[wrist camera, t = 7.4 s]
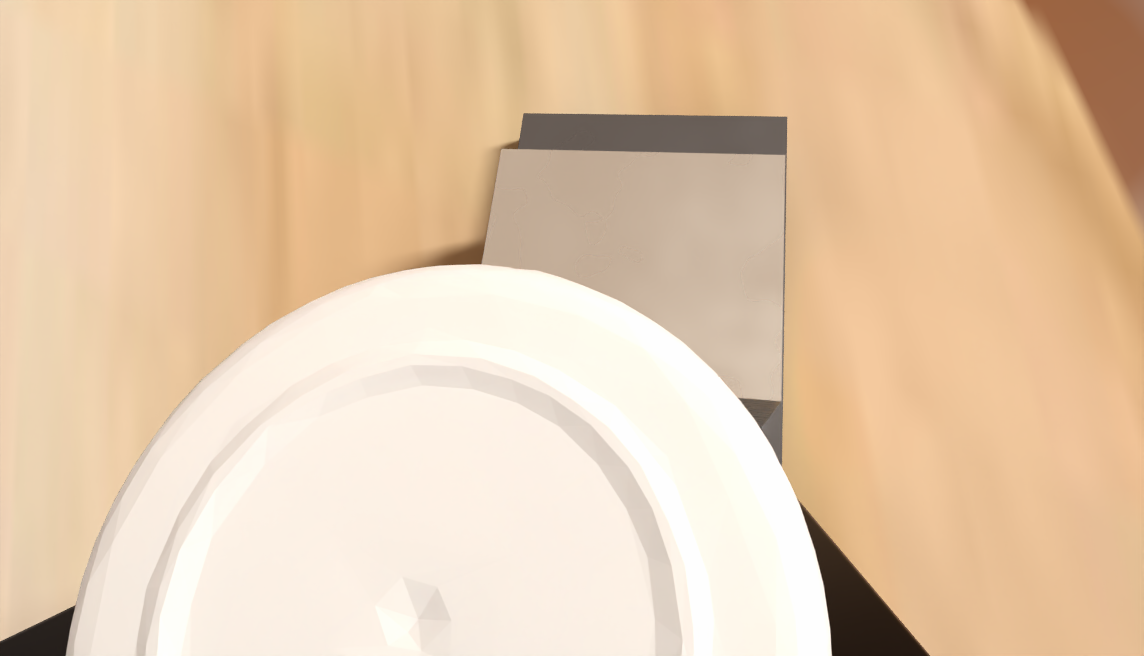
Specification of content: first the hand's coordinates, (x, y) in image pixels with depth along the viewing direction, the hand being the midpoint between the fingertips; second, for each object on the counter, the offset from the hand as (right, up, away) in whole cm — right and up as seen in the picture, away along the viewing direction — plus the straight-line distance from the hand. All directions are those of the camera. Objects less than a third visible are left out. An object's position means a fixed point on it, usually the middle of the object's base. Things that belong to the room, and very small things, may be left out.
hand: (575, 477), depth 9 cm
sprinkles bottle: (+1, -4, +7) cm, 8 cm away
